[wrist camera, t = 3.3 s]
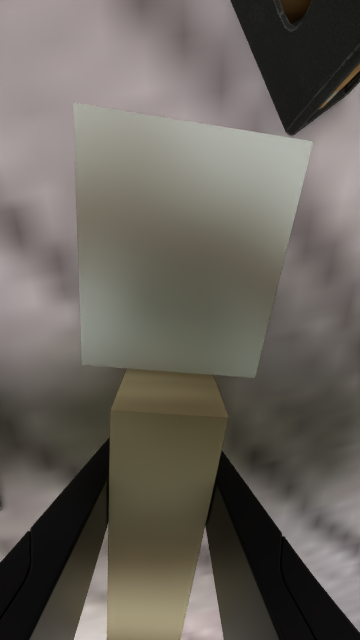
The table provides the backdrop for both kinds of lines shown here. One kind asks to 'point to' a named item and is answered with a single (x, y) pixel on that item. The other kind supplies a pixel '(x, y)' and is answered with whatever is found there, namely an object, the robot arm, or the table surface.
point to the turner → (173, 325)
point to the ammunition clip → (303, 53)
